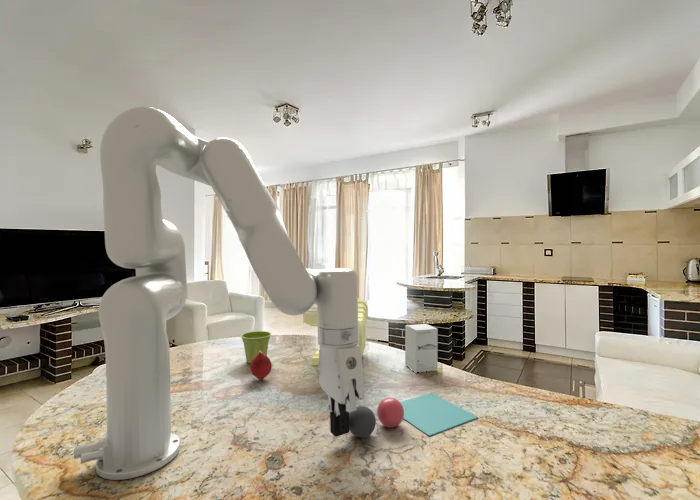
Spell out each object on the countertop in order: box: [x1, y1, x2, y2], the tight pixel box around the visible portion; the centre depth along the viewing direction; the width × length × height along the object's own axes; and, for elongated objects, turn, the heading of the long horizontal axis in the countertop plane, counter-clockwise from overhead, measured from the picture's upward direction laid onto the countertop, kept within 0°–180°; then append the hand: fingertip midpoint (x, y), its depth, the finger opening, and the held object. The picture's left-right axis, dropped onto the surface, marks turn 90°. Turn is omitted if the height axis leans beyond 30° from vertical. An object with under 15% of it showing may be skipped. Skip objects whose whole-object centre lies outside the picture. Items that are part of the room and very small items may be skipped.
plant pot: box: [240, 330, 272, 364], centre depth 110 cm, size 9×9×9 cm
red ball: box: [376, 397, 404, 428], centre depth 70 cm, size 6×6×6 cm
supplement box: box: [404, 323, 439, 374], centre depth 103 cm, size 7×7×13 cm
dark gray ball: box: [349, 405, 377, 438], centre depth 67 cm, size 6×6×6 cm
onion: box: [249, 351, 273, 381], centre depth 95 cm, size 6×6×8 cm
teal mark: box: [399, 392, 479, 437], centre depth 76 cm, size 14×14×1 cm
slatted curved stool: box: [302, 297, 369, 366], centre depth 112 cm, size 30×16×18 cm, turn 172°
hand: (339, 432), depth 64 cm, fingers closed
